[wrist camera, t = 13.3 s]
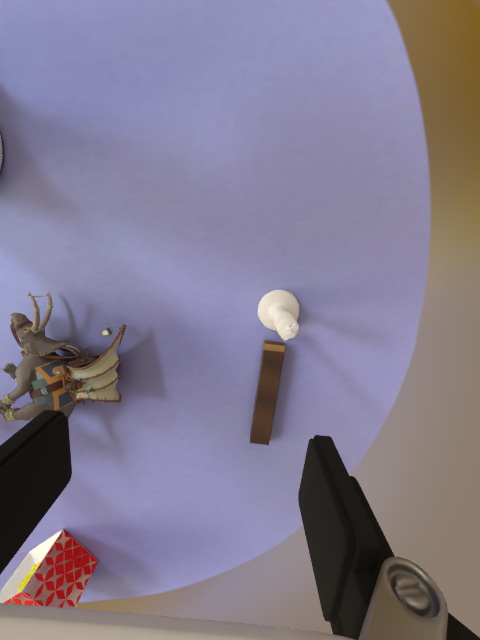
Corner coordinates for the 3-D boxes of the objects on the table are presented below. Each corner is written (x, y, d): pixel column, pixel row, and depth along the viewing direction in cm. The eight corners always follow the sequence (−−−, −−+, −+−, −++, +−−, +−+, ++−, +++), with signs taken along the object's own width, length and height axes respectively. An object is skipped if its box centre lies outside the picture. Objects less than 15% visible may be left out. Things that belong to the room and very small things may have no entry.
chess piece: (307, 308, 32) (333, 333, 22) (279, 337, 33) (292, 373, 23) (277, 281, 31) (291, 294, 22) (249, 311, 32) (250, 337, 23)
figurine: (-61, 319, 28) (83, 269, 27) (-7, 310, 34) (114, 269, 33) (21, 480, 31) (155, 444, 30) (58, 446, 37) (171, 415, 36)
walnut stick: (263, 340, 33) (264, 343, 32) (284, 342, 33) (285, 346, 32) (249, 436, 37) (249, 443, 36) (268, 439, 37) (269, 445, 36)
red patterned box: (63, 529, 42) (21, 591, 34) (98, 560, 43) (66, 626, 35) (29, 551, 43) (-19, 616, 35) (64, 581, 45) (26, 649, 37)
